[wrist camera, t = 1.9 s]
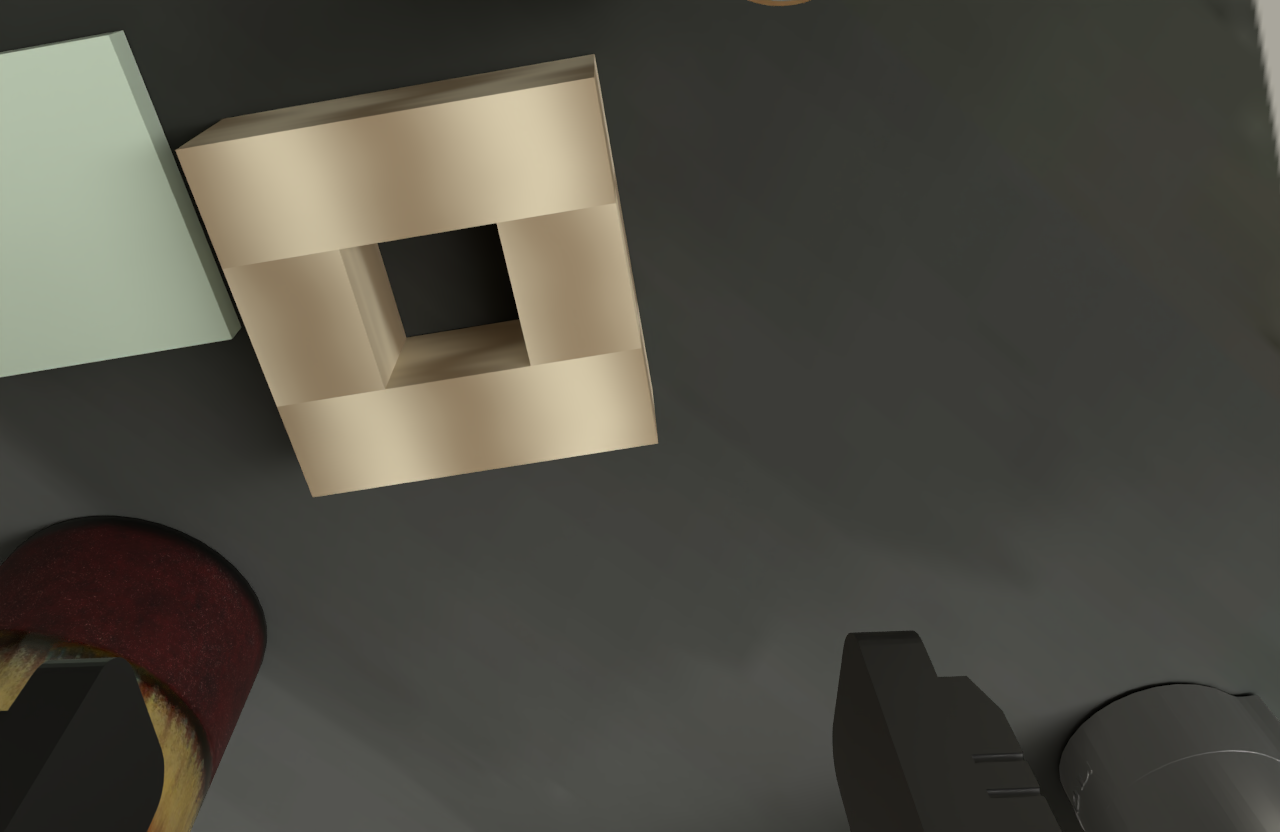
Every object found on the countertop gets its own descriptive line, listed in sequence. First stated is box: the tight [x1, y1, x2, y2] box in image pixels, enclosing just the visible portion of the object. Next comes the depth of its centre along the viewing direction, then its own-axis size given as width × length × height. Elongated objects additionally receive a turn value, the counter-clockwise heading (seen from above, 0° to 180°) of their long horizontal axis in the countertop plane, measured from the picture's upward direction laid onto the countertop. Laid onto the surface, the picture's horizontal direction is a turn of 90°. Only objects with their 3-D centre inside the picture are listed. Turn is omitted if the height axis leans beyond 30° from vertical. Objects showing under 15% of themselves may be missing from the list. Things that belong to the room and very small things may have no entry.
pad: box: [0, 30, 241, 377], centre depth 31 cm, size 10×10×1 cm
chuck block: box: [175, 54, 658, 497], centre depth 32 cm, size 12×12×4 cm
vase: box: [0, 516, 267, 832], centre depth 32 cm, size 11×11×20 cm
